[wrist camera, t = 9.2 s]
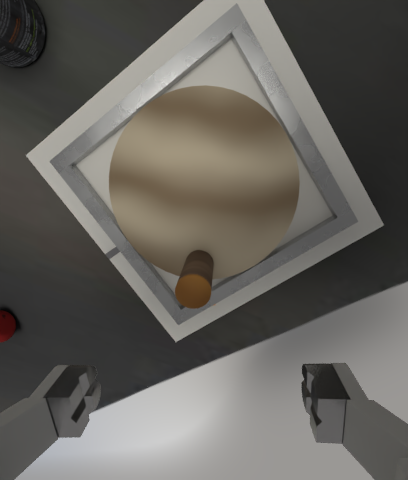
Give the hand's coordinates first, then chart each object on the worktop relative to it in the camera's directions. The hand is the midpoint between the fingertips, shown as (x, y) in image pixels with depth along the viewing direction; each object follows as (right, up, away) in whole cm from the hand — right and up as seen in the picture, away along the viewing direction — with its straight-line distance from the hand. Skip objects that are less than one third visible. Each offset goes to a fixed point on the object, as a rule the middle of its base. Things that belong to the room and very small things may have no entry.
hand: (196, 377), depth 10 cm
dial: (0, +10, +12) cm, 15 cm away
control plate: (0, +10, +15) cm, 18 cm away
